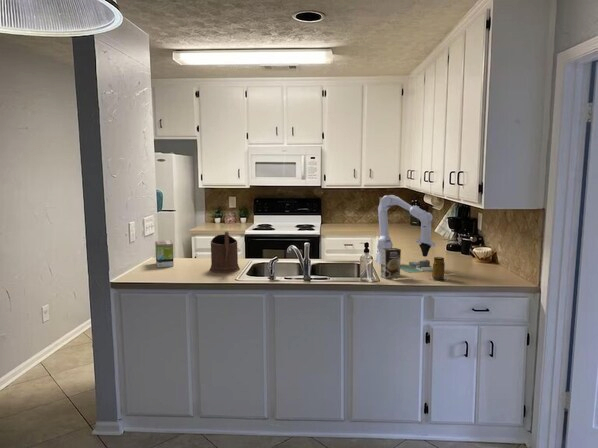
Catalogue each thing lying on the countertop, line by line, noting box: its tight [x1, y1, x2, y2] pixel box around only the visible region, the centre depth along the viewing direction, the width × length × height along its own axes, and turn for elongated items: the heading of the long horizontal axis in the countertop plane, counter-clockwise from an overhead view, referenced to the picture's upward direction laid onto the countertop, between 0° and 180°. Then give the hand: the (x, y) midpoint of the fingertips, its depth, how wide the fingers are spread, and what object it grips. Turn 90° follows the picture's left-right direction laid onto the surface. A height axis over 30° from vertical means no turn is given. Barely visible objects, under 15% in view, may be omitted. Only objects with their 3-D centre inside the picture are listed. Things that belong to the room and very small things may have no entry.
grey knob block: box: [408, 260, 421, 268], centre depth 267 cm, size 7×7×2 cm
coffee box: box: [380, 247, 402, 280], centre depth 243 cm, size 9×6×16 cm
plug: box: [419, 259, 431, 269], centre depth 257 cm, size 3×5×6 cm
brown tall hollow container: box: [209, 230, 241, 274], centre depth 260 cm, size 18×24×25 cm
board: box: [400, 264, 433, 274], centre depth 260 cm, size 17×18×3 cm
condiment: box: [430, 256, 450, 282], centre depth 238 cm, size 7×8×12 cm
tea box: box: [154, 240, 175, 268], centre depth 277 cm, size 15×10×15 cm
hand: (424, 256), depth 256 cm, fingers closed
